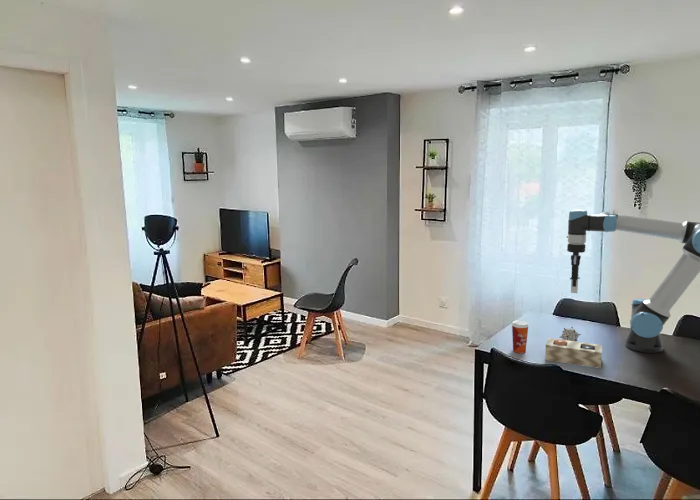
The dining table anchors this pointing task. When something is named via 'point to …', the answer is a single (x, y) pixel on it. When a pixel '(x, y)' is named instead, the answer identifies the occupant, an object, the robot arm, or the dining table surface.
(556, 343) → the terracotta button
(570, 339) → the spiked grey ball
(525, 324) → the paper cup
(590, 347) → the charcoal button
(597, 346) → the button box
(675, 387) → the dining table surface
